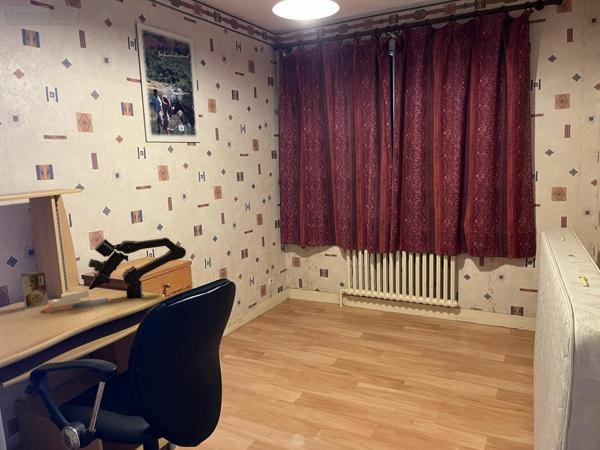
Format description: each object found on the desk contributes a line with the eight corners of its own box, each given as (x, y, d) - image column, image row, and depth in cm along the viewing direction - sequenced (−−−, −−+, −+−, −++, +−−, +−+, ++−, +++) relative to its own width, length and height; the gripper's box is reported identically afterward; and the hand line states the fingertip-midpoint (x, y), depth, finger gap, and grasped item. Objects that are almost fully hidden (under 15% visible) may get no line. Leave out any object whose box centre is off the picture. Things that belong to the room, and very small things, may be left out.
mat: (107, 299, 217) (107, 297, 217) (110, 304, 208) (110, 303, 207) (52, 308, 206) (51, 306, 206) (51, 314, 196) (51, 313, 196)
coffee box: (46, 302, 214) (42, 270, 212) (49, 305, 210) (45, 272, 207) (24, 307, 209) (20, 273, 207) (26, 310, 204) (22, 276, 202)
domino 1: (72, 301, 207) (44, 305, 202) (72, 303, 202) (44, 308, 197) (72, 305, 207) (45, 309, 202) (72, 308, 203) (45, 312, 198)
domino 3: (87, 290, 210) (61, 294, 204) (88, 292, 205) (61, 296, 200) (88, 294, 210) (61, 298, 205) (88, 296, 205) (61, 301, 200)
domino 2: (79, 295, 208) (52, 299, 203) (80, 298, 204) (52, 302, 199) (80, 299, 208) (53, 303, 203) (80, 302, 204) (53, 306, 199)
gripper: (96, 249, 216) (73, 275, 212) (100, 255, 200) (75, 283, 196) (115, 263, 221) (93, 288, 217) (120, 270, 204) (96, 297, 201)
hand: (89, 289), depth 208 cm, fingers closed
